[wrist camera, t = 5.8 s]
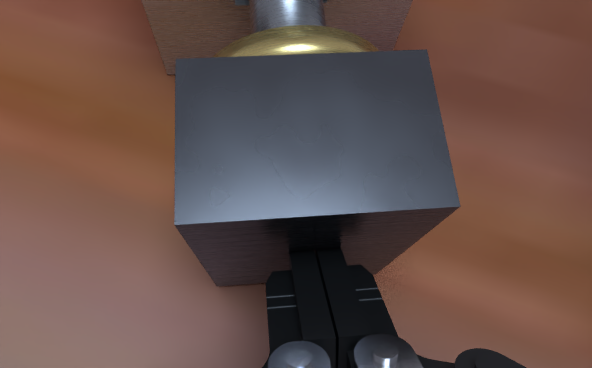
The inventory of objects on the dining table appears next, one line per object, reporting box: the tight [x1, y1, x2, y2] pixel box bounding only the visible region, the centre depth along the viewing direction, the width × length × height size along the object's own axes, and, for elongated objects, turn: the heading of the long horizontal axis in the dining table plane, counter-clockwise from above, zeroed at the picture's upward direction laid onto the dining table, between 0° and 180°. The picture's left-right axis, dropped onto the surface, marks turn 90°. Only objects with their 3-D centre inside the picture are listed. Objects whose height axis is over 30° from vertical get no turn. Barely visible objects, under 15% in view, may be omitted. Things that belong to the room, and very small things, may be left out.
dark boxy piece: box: [175, 0, 460, 286], centre depth 17 cm, size 18×6×8 cm, turn 5°
